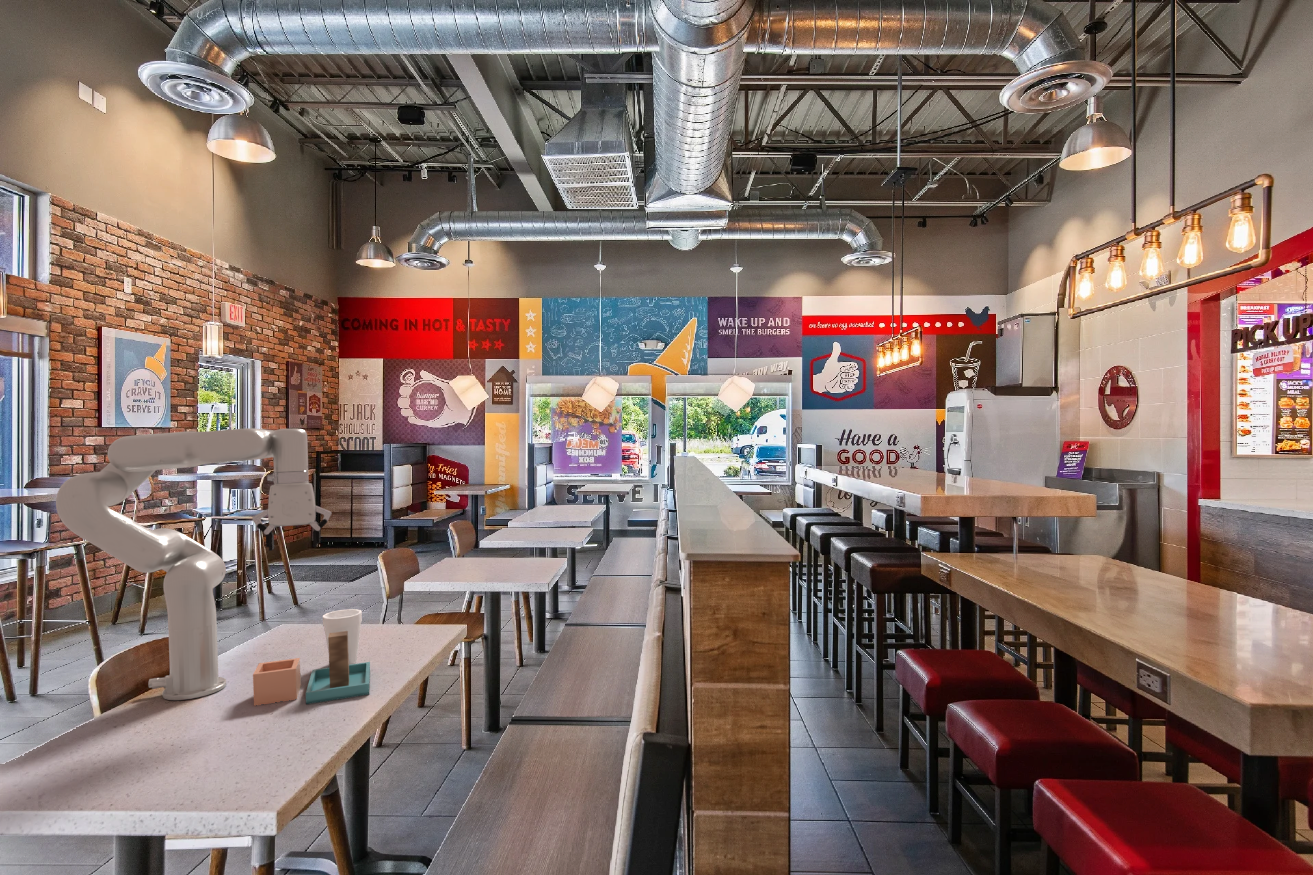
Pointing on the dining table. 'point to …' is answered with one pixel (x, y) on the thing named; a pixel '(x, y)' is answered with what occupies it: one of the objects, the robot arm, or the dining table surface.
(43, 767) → the dining table surface
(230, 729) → the dining table surface
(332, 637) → the walnut stick
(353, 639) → the foam cup
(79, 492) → the robot arm
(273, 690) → the holder cup
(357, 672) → the tray
